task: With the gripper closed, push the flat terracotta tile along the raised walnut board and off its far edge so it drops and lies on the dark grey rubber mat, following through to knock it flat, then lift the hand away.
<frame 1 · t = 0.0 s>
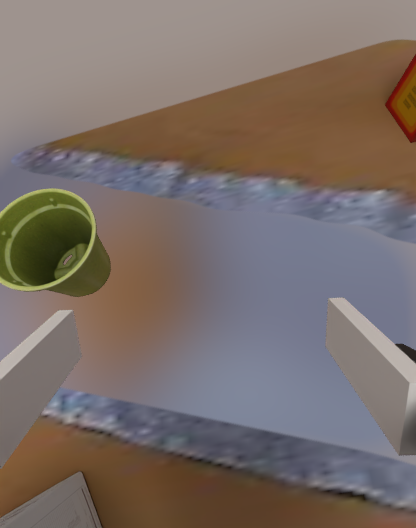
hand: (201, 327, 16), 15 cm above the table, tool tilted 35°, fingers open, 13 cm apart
plant pot: (84, 270, 34), on the table
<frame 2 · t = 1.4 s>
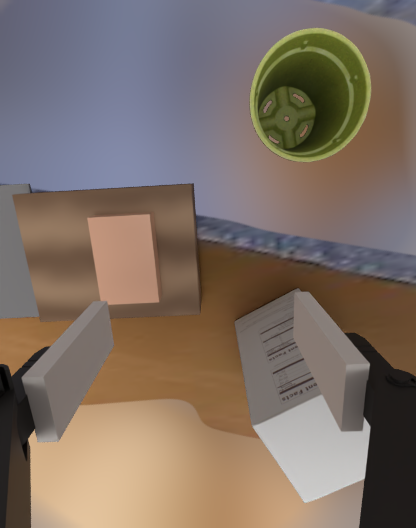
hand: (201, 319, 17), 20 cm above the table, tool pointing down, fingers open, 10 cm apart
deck: (121, 249, 36), on the table
supplement box: (281, 332, 39), on the table
plant pot: (284, 119, 32), on the table
tile: (129, 256, 32), point 4 cm above the table, touching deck
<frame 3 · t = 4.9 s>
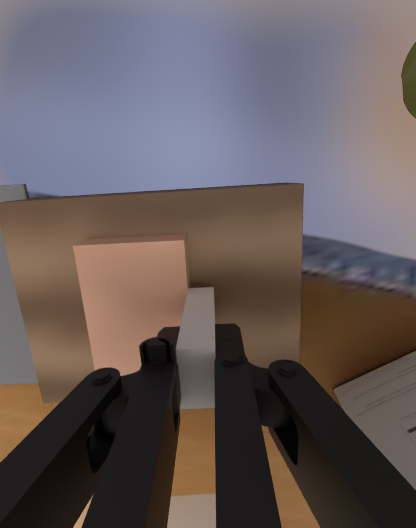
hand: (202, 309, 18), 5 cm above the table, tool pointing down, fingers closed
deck: (168, 284, 23), on the table
supplement box: (401, 403, 26), on the table
tile: (144, 305, 20), point 4 cm above the table, touching gripper
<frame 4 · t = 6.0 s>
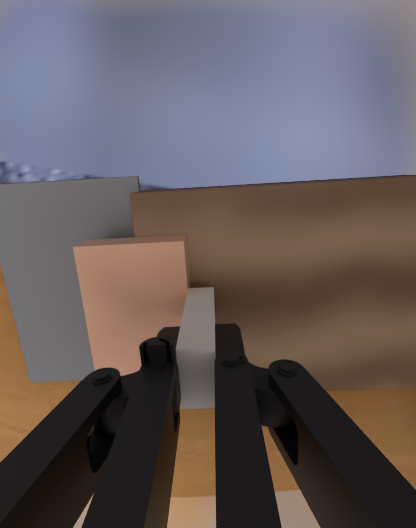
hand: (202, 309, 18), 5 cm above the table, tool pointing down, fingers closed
mat: (80, 288, 24), on the table
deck: (272, 278, 23), on the table
tile: (144, 306, 20), point 4 cm above the table
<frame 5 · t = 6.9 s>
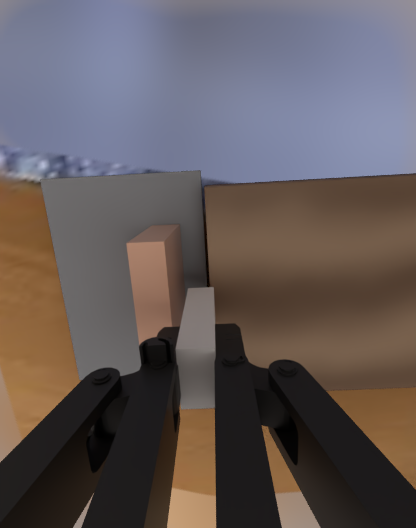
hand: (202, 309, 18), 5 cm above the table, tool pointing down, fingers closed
mat: (134, 284, 23), on the table
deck: (330, 274, 23), on the table
tile: (178, 299, 20), point 3 cm above the table, tilted 92°, touching mat
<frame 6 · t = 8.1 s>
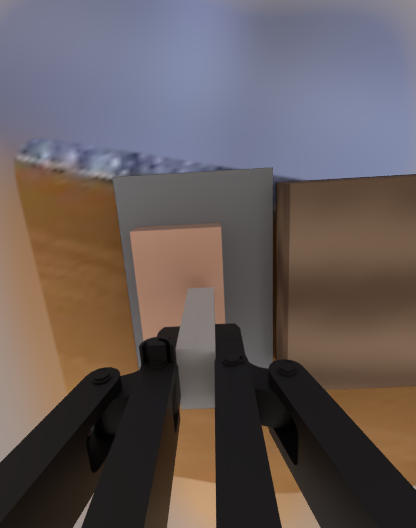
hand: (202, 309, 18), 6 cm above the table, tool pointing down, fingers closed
mat: (199, 281, 23), on the table
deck: (396, 271, 23), on the table
tile: (180, 293, 21), point 2 cm above the table, tilted 180°, touching mat
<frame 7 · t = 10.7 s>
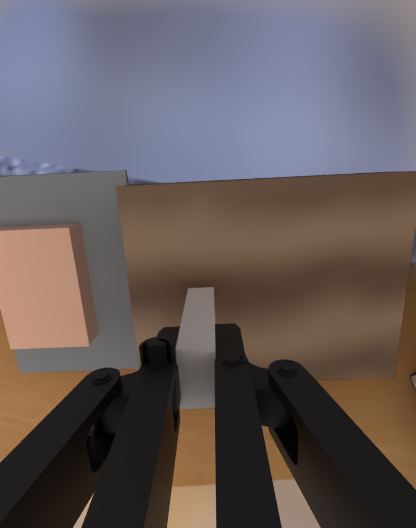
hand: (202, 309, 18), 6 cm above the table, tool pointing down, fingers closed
mat: (69, 280, 24), on the table
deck: (258, 271, 24), on the table
tile: (38, 292, 22), point 2 cm above the table, tilted 180°, touching mat
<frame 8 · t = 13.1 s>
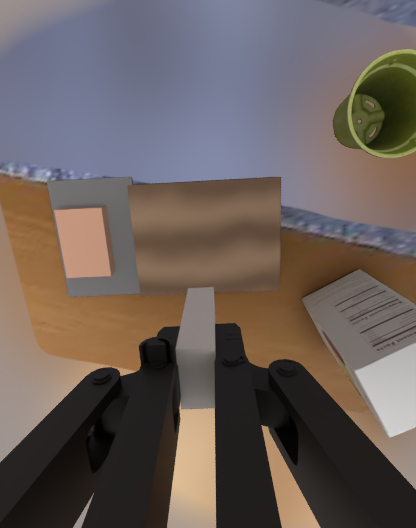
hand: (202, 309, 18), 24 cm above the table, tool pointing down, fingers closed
mat: (99, 239, 42), on the table
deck: (207, 234, 41), on the table
supplement box: (342, 308, 45), on the table
plant pot: (355, 121, 38), on the table
tile: (83, 244, 40), point 2 cm above the table, tilted 180°, touching mat
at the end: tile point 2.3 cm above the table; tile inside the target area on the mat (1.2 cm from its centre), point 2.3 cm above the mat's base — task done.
